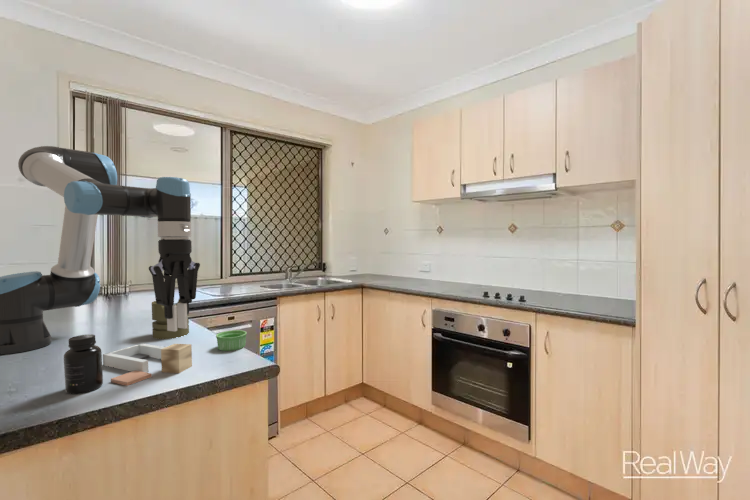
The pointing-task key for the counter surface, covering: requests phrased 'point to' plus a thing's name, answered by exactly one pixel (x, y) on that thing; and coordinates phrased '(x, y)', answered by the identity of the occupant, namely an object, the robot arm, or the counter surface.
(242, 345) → the ramekin
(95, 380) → the supplement bottle
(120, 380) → the tile
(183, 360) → the block
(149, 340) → the counter surface
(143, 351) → the channel
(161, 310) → the piston
